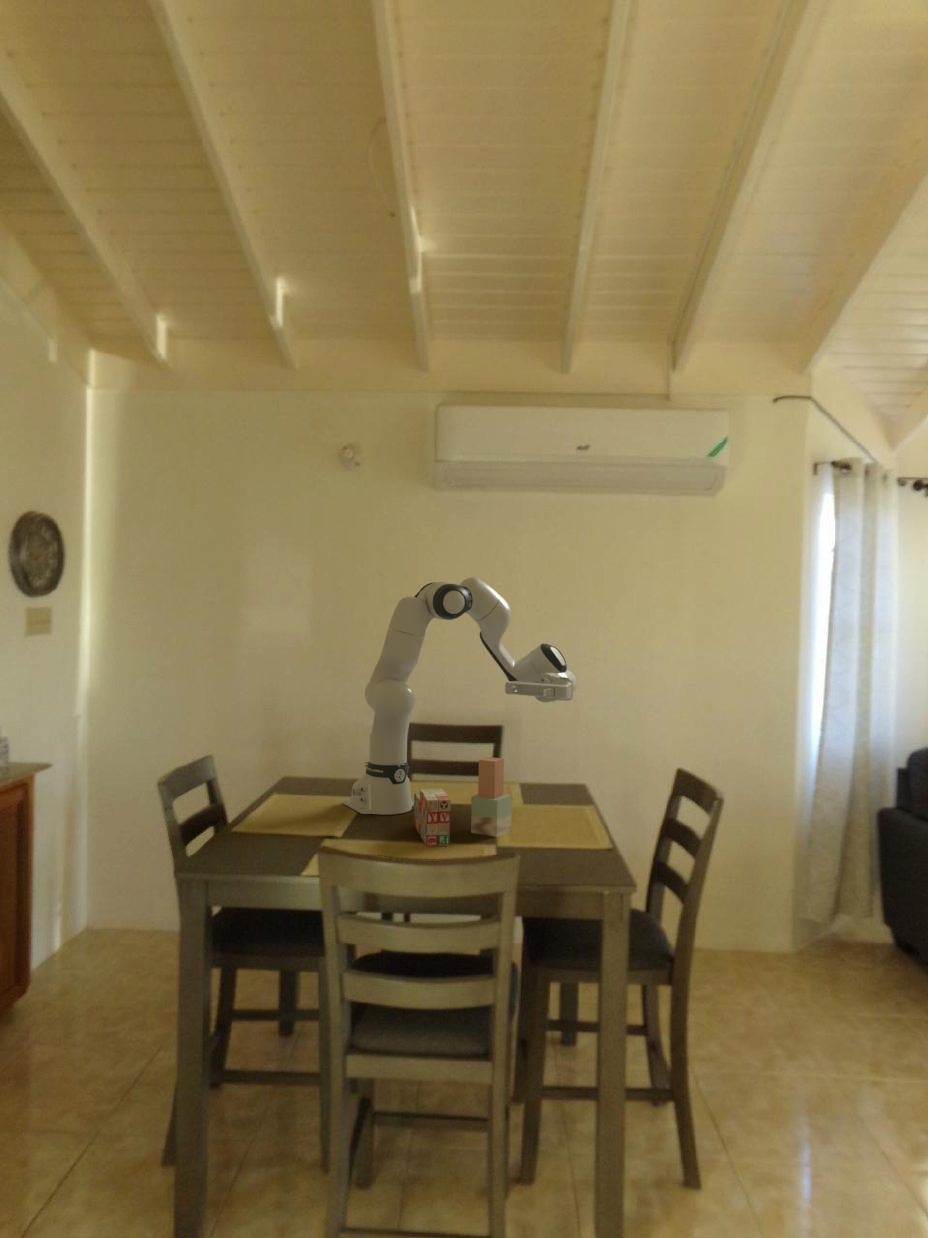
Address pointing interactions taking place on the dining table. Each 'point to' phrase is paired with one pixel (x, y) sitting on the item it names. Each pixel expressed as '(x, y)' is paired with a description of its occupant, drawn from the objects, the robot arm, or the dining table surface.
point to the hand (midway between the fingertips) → (527, 691)
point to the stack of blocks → (433, 816)
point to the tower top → (491, 806)
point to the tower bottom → (490, 825)
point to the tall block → (491, 777)
